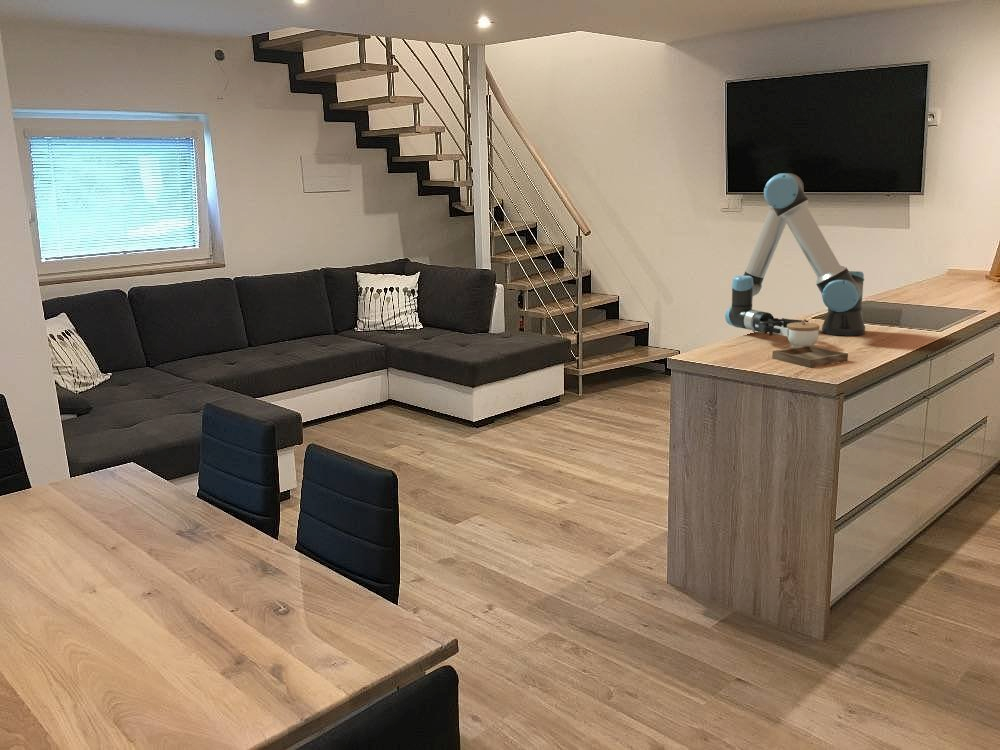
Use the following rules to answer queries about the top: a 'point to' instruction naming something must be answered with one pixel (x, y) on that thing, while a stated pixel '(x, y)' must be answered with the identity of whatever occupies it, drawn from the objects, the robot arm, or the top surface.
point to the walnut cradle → (809, 356)
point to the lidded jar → (803, 333)
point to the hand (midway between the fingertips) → (803, 330)
